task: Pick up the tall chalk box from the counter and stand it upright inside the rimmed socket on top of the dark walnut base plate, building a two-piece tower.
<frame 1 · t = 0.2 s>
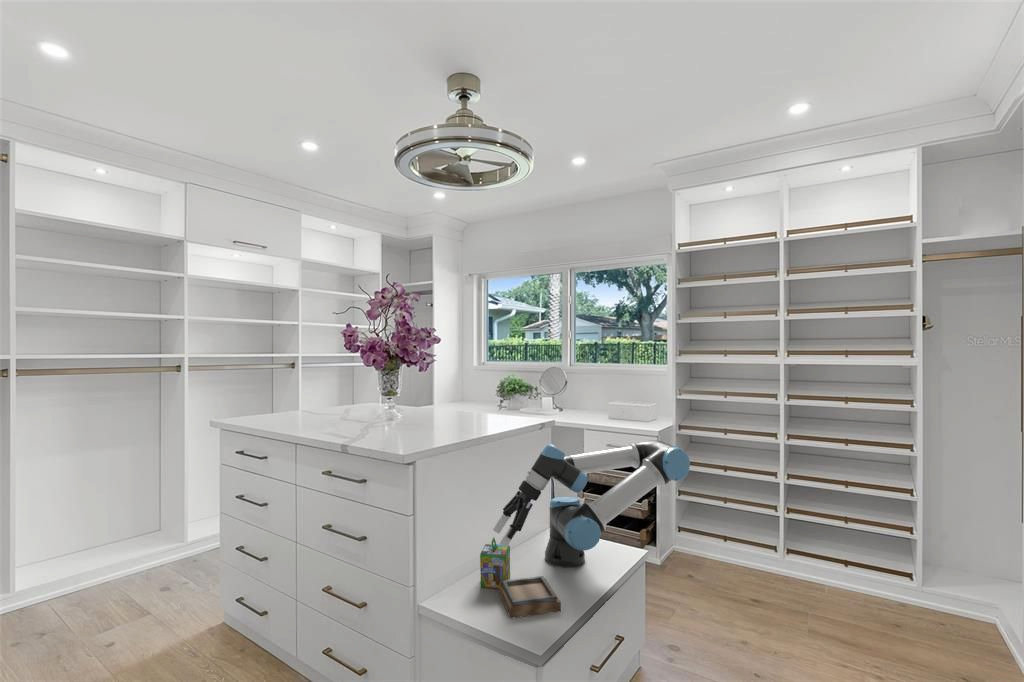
hand: (499, 538, 172), 16 cm above the table, tool tilted 35°, fingers open, 13 cm apart
chalk box: (495, 583, 173), on the table
base plate: (528, 601, 160), on the table
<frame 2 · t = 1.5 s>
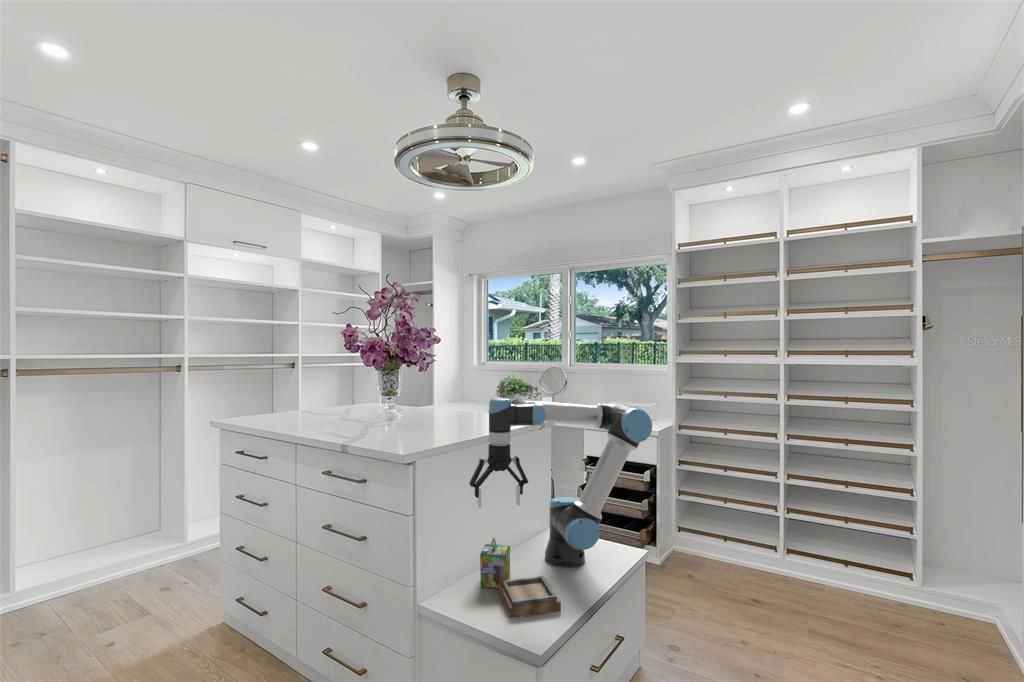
hand: (498, 505, 172), 27 cm above the table, tool pointing down, fingers open, 13 cm apart
nothing on the table moved.
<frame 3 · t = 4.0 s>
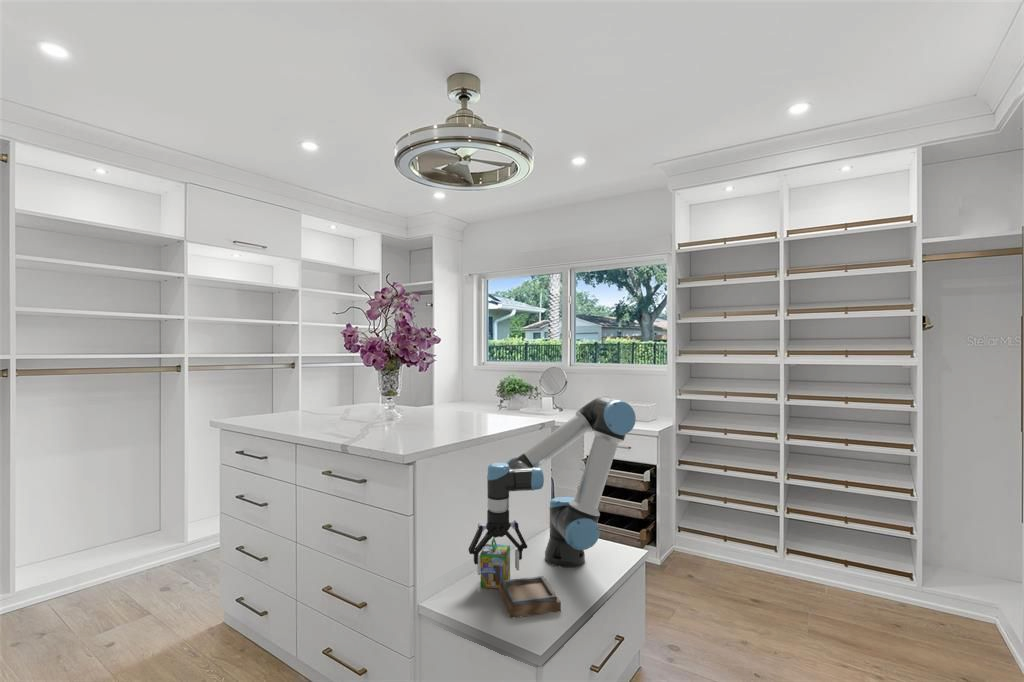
hand: (497, 571, 172), 4 cm above the table, tool pointing down, fingers open, 13 cm apart
nothing on the table moved.
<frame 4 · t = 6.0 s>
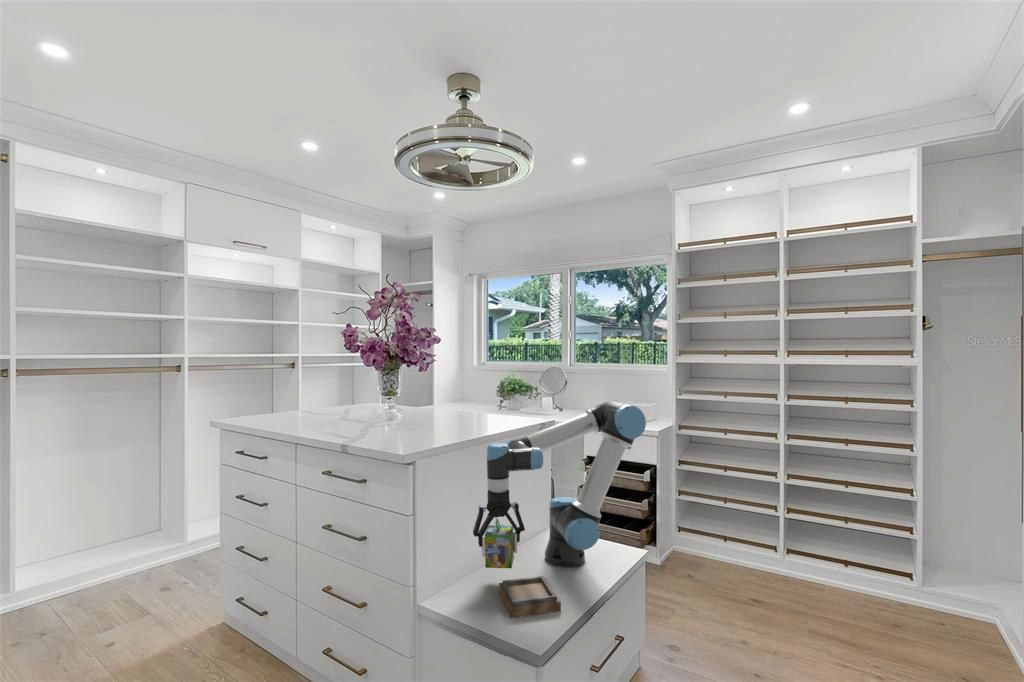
hand: (499, 553, 172), 10 cm above the table, tool pointing down, fingers closed on chalk box, 10 cm apart
chalk box: (500, 563, 173), point 6 cm above the table, touching gripper
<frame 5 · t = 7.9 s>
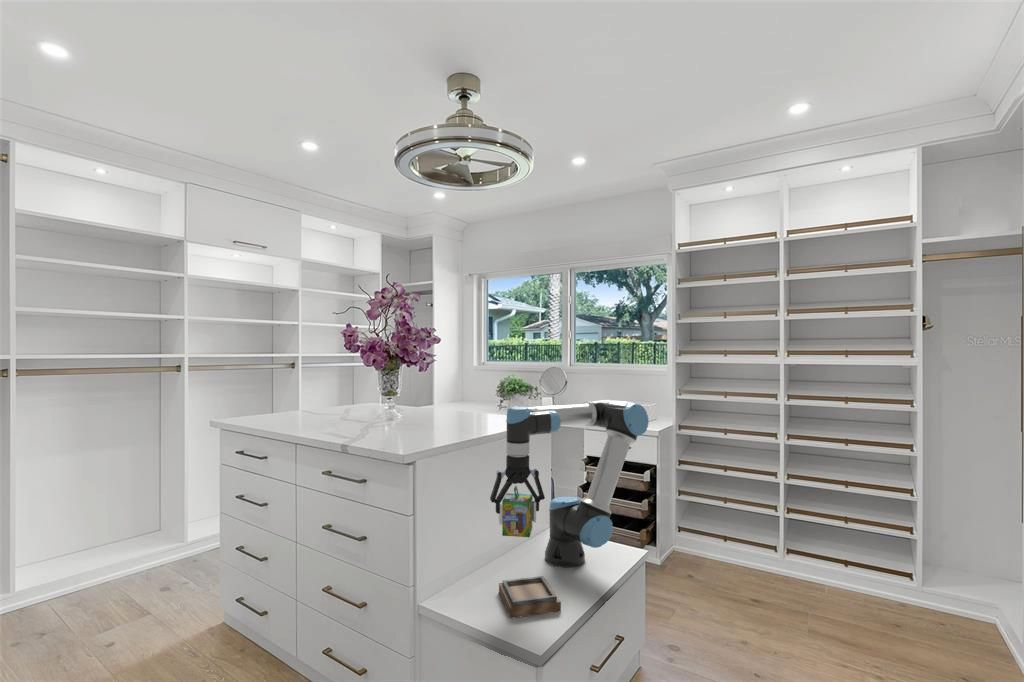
hand: (517, 522, 164), 24 cm above the table, tool pointing down, fingers closed on chalk box, 10 cm apart
chalk box: (517, 532, 165), point 20 cm above the table, touching gripper
when the fingers open (8 cm above the table, at t = 11.4 s): chalk box stays where it is, resting on base plate.
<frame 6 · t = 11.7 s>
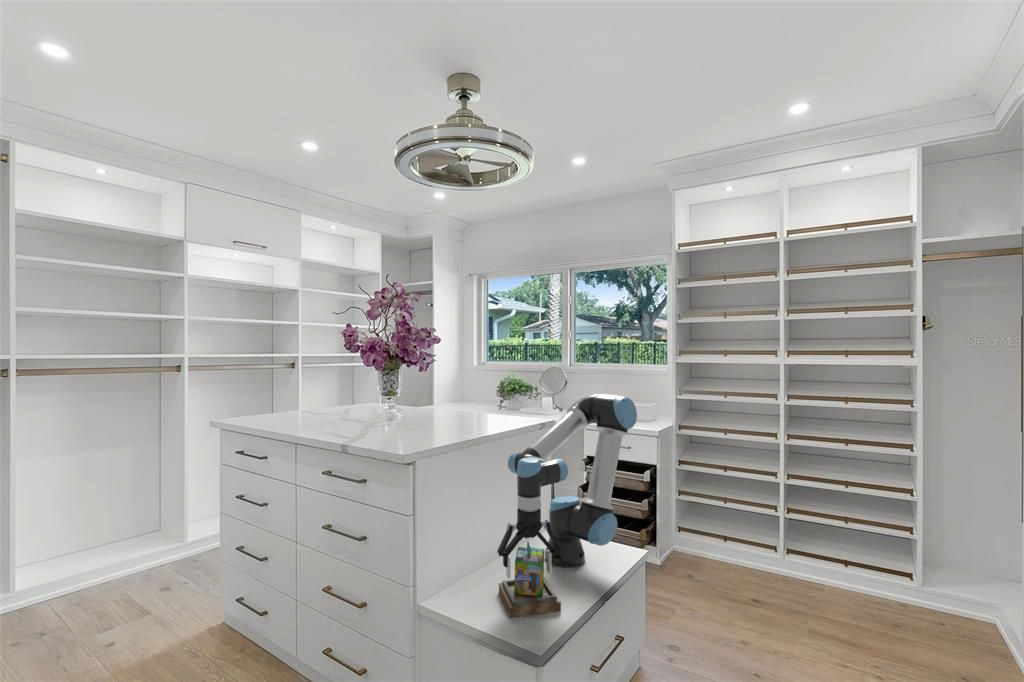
hand: (528, 574, 160), 9 cm above the table, tool pointing down, fingers open, 13 cm apart
chalk box: (529, 588, 161), point 3 cm above the table, touching base plate
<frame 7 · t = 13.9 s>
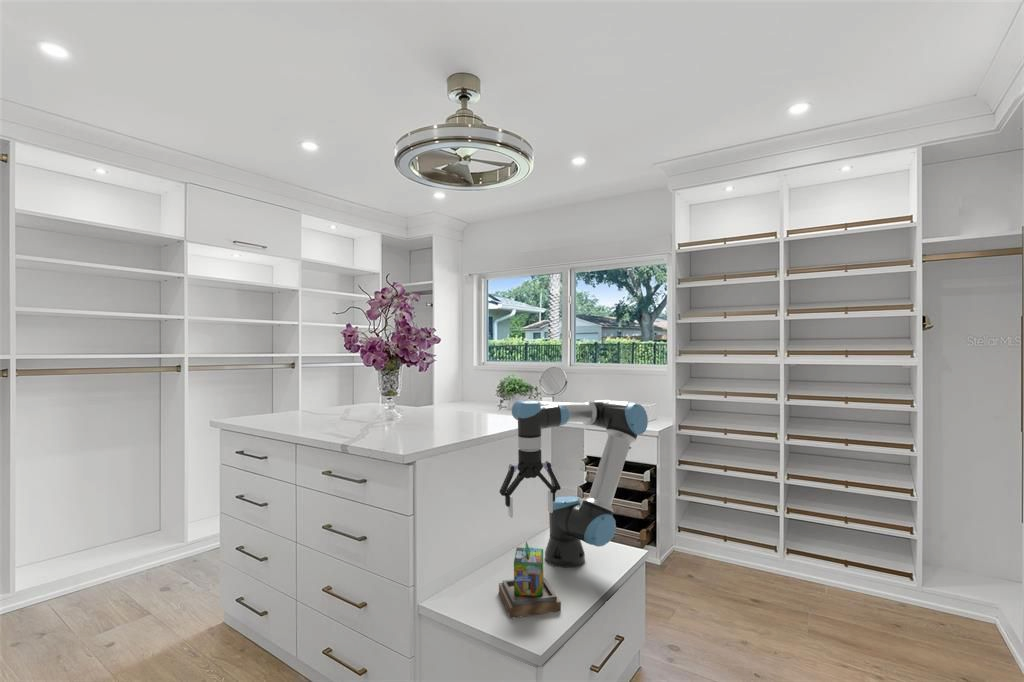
hand: (530, 513, 163), 27 cm above the table, tool pointing down, fingers open, 13 cm apart
nothing on the table moved.
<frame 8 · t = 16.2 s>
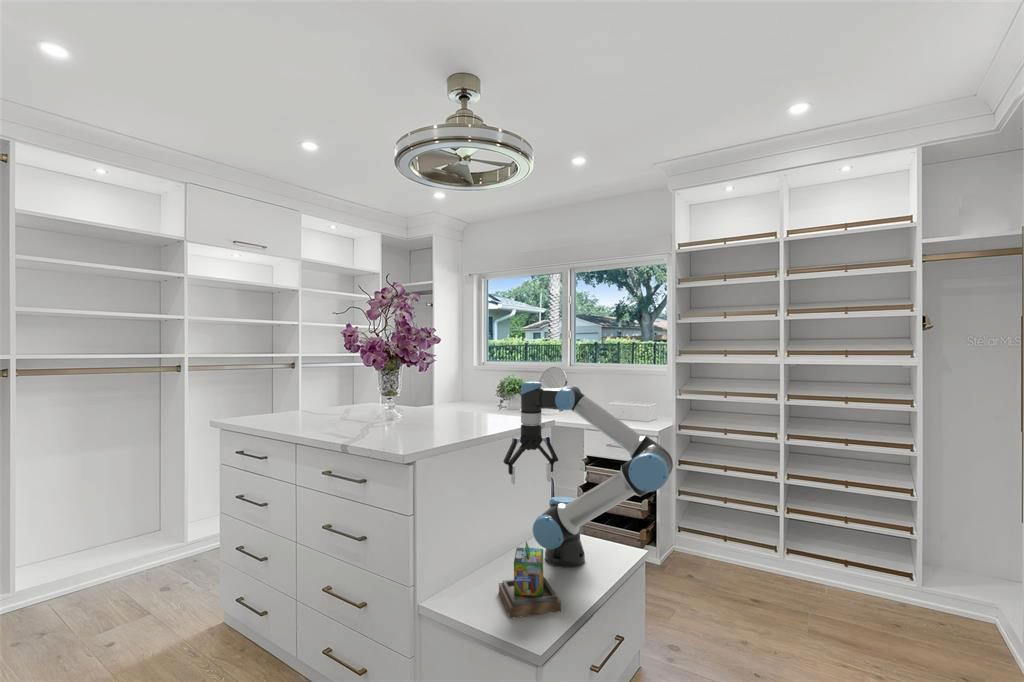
hand: (530, 482, 183), 32 cm above the table, tool pointing down, fingers open, 13 cm apart
nothing on the table moved.
at the end: chalk box 1.3 cm off-centre on the base plate, point 3.5 cm above the base plate's base; chalk box tilted 8°; the gripper is holding nothing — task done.
